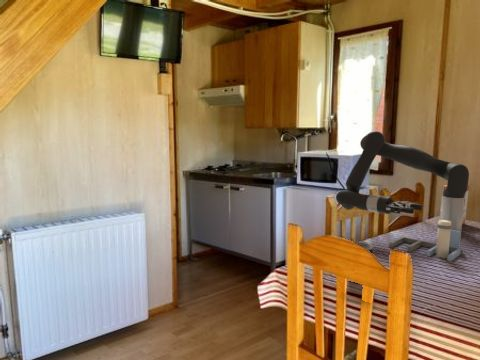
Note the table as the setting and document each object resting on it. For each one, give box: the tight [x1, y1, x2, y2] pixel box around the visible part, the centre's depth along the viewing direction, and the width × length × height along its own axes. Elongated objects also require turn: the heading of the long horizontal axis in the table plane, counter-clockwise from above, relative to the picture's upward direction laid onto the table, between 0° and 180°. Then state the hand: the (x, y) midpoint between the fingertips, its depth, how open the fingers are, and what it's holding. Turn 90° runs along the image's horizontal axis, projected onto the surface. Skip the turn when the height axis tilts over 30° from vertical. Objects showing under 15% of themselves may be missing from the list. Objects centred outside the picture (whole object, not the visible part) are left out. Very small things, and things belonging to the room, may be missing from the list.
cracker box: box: [438, 184, 470, 225], centre depth 201 cm, size 14×6×21 cm, turn 117°
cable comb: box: [388, 230, 465, 262], centre depth 159 cm, size 13×25×9 cm, turn 45°
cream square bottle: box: [435, 220, 452, 259], centre depth 152 cm, size 5×5×14 cm
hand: (417, 209), depth 158 cm, fingers open, 8 cm apart
